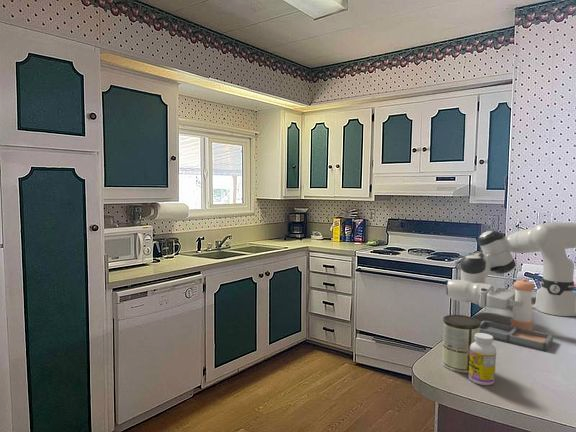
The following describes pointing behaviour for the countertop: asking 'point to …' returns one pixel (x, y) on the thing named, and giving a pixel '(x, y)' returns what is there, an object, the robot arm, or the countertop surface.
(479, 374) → the supplement bottle
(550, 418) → the countertop surface
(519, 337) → the tray
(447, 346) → the coffee can
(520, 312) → the salt shaker
